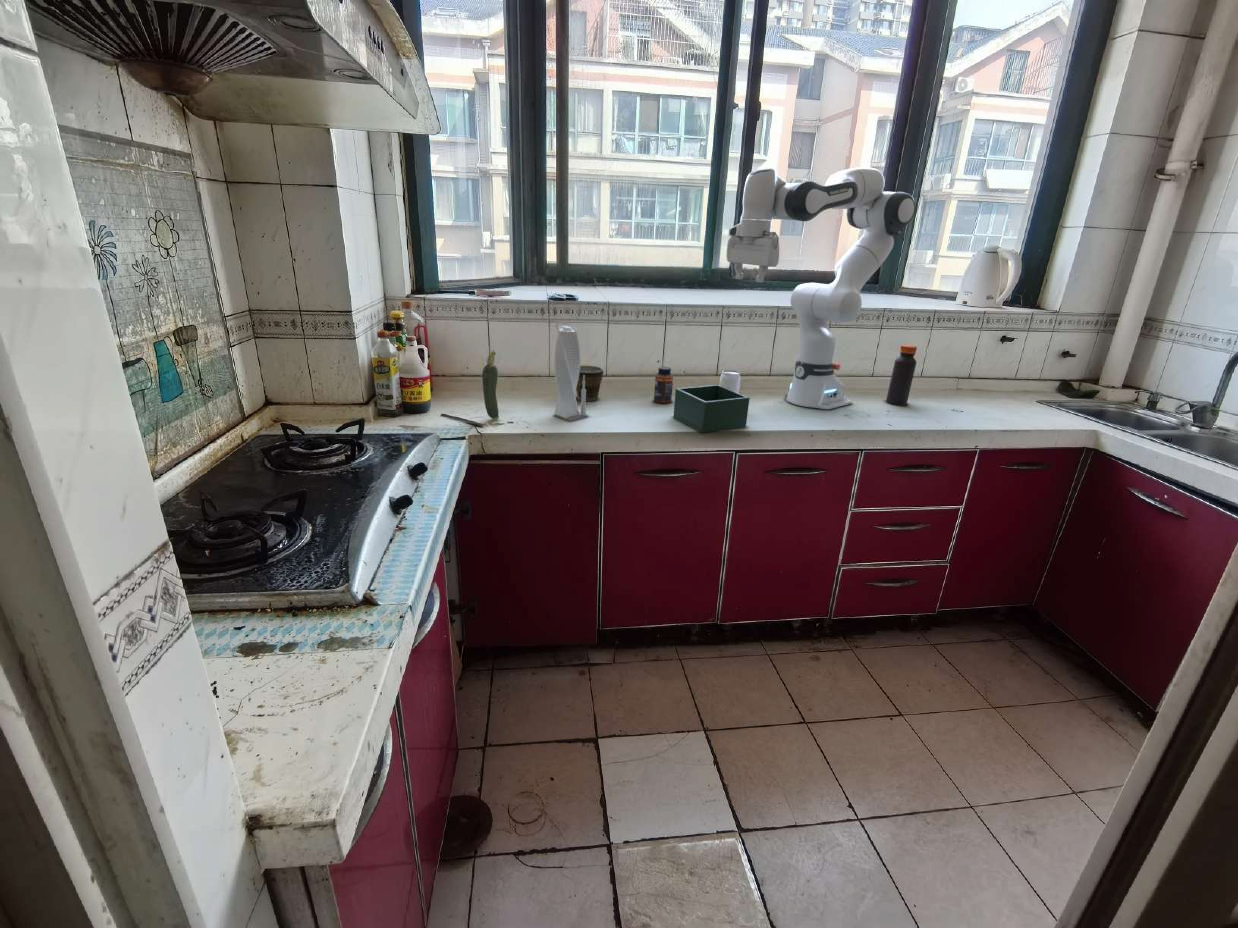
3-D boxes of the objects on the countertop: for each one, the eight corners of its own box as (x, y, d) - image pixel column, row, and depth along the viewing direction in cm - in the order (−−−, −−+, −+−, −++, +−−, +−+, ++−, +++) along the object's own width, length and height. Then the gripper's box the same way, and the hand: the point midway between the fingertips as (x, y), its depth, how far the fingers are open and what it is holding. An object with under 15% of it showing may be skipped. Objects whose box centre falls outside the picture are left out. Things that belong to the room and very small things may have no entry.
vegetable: (486, 422, 168) (483, 352, 161) (482, 418, 172) (479, 349, 164) (501, 421, 170) (499, 351, 163) (497, 416, 174) (494, 348, 166)
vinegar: (910, 404, 207) (924, 347, 200) (899, 406, 204) (912, 348, 196) (893, 399, 212) (905, 343, 205) (881, 401, 209) (894, 345, 201)
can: (736, 412, 189) (741, 375, 184) (716, 410, 190) (720, 373, 185) (737, 406, 195) (741, 370, 190) (717, 404, 196) (721, 369, 191)
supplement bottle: (674, 401, 198) (677, 367, 193) (666, 404, 193) (668, 370, 189) (659, 397, 201) (661, 364, 196) (650, 401, 196) (652, 367, 192)
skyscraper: (566, 422, 172) (567, 324, 161) (548, 415, 177) (548, 320, 166) (587, 416, 178) (589, 322, 167) (568, 410, 183) (570, 318, 172)
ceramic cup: (585, 392, 202) (585, 364, 198) (608, 398, 197) (609, 369, 193) (560, 400, 192) (560, 370, 189) (583, 406, 187) (584, 375, 183)
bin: (715, 412, 188) (718, 384, 184) (745, 427, 175) (749, 397, 172) (673, 417, 181) (675, 388, 178) (702, 432, 168) (705, 402, 165)
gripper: (787, 232, 163) (780, 284, 169) (742, 230, 180) (736, 277, 185) (770, 231, 161) (763, 284, 166) (725, 229, 177) (720, 277, 183)
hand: (748, 280), depth 176 cm, fingers open, 8 cm apart
